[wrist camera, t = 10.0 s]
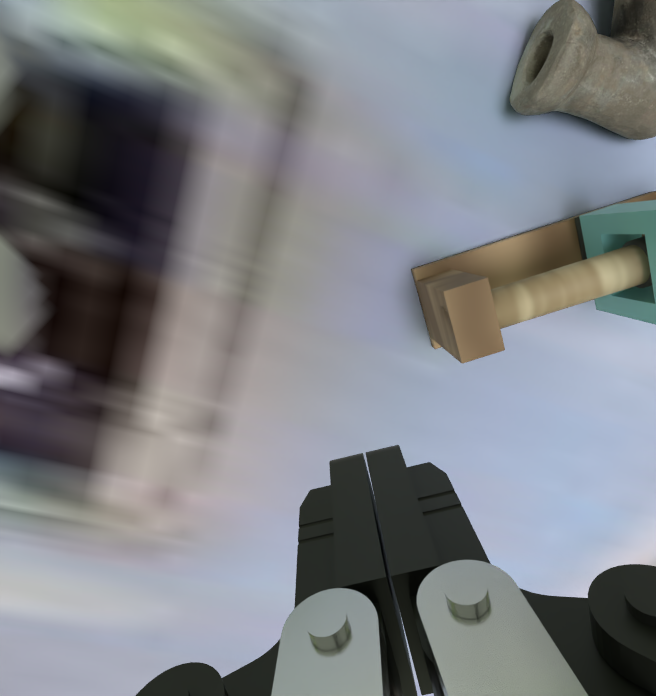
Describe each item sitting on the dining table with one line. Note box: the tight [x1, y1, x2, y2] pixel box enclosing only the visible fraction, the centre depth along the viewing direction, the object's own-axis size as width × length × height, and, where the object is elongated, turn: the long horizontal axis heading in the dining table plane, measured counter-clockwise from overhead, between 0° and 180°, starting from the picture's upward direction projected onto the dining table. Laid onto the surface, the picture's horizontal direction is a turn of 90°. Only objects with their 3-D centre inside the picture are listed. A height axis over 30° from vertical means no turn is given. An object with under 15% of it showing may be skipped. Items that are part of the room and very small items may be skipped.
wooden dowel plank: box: [411, 191, 656, 363], centre depth 31 cm, size 18×6×8 cm, turn 108°
